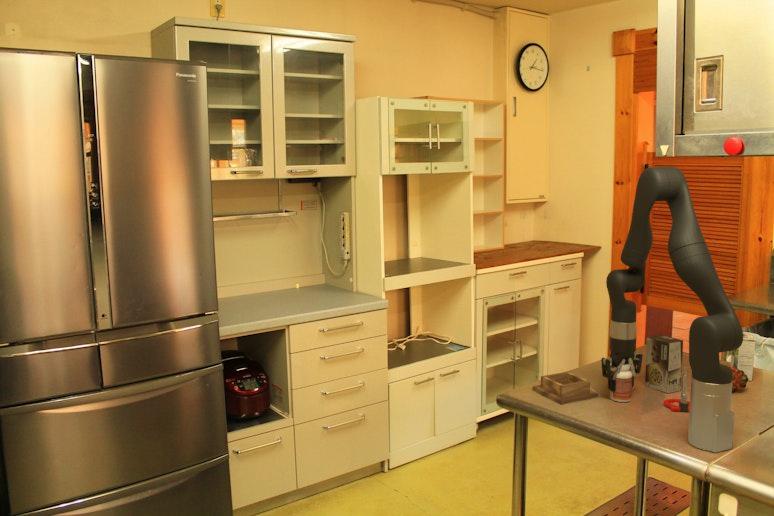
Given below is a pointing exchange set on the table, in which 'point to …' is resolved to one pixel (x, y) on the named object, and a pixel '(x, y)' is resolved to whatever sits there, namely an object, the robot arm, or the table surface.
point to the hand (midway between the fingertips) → (620, 389)
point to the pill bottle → (623, 385)
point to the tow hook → (683, 403)
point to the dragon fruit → (738, 379)
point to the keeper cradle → (565, 388)
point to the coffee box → (664, 363)
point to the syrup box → (744, 356)
